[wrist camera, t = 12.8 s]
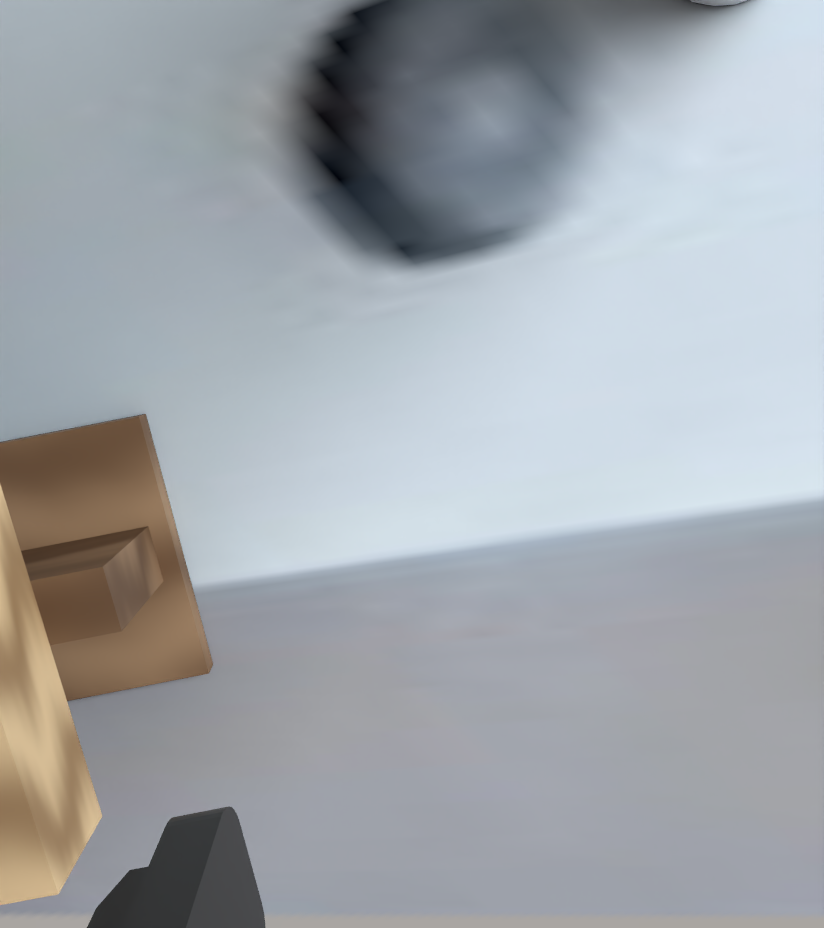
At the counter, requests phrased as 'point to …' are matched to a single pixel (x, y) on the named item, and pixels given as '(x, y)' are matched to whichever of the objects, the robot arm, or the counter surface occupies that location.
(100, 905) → the robot arm
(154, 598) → the ridge stand
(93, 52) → the counter surface
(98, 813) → the oak batten
